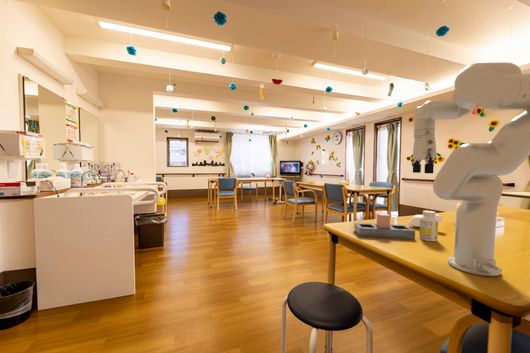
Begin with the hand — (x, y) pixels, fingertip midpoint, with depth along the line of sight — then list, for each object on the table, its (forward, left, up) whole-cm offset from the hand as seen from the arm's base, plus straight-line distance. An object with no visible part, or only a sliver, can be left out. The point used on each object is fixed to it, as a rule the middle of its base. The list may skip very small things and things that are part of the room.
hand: (422, 172), depth 100 cm
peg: (+5, +14, -30) cm, 34 cm away
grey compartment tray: (+5, +14, -30) cm, 34 cm away
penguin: (+21, -13, -31) cm, 40 cm away
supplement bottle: (+1, -4, -31) cm, 31 cm away
